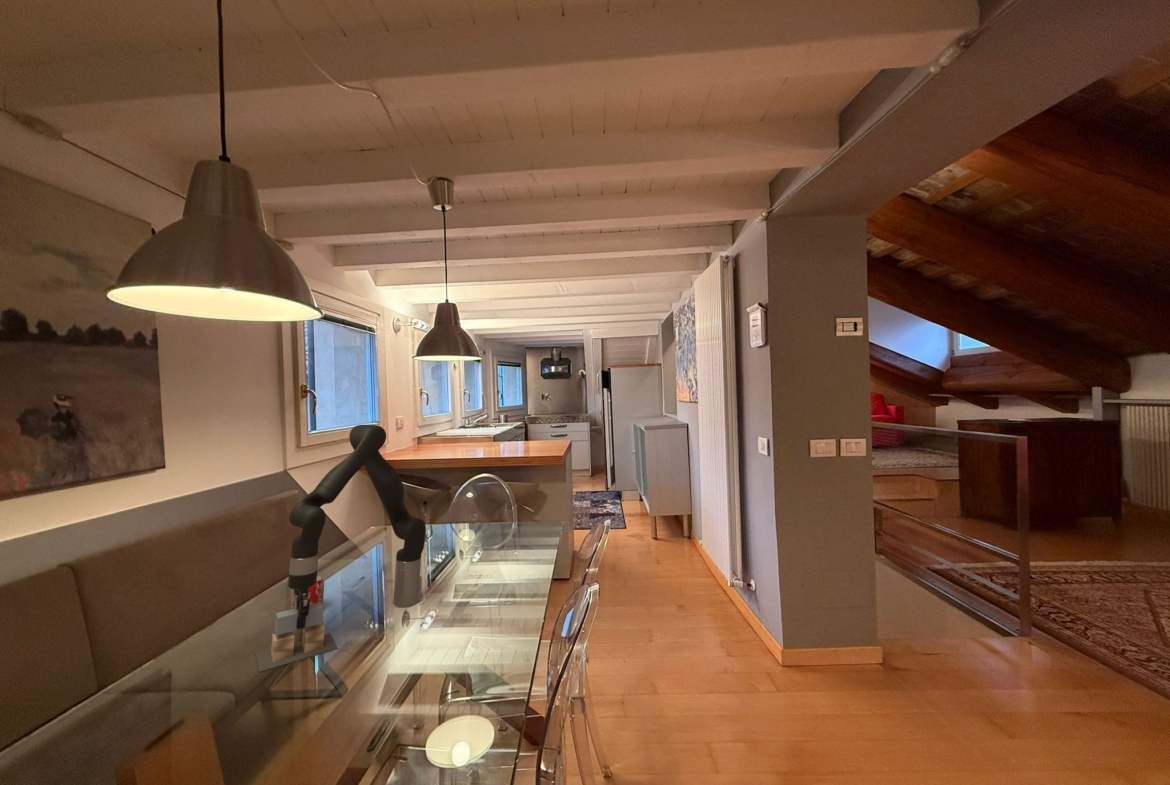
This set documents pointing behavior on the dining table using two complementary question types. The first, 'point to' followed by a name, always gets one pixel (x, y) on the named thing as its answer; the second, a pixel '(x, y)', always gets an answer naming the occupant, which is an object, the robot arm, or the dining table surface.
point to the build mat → (298, 654)
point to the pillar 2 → (313, 637)
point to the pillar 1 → (282, 646)
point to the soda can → (317, 591)
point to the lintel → (288, 619)
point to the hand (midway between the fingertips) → (299, 624)
